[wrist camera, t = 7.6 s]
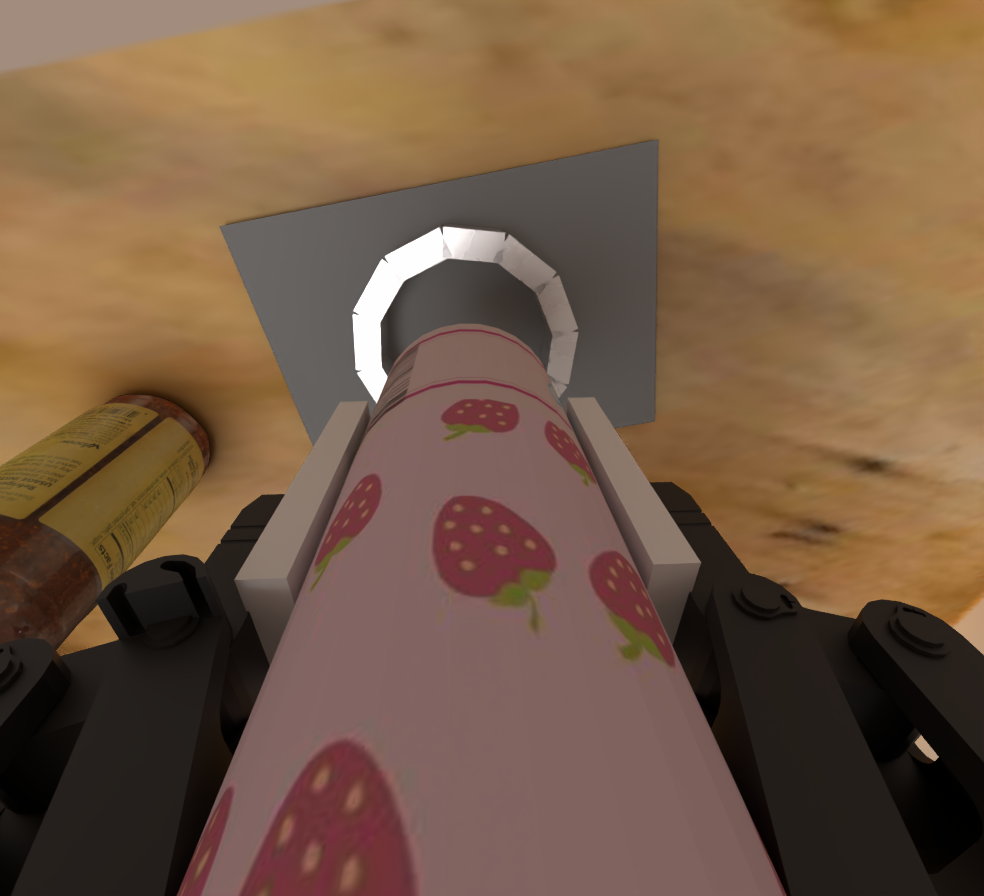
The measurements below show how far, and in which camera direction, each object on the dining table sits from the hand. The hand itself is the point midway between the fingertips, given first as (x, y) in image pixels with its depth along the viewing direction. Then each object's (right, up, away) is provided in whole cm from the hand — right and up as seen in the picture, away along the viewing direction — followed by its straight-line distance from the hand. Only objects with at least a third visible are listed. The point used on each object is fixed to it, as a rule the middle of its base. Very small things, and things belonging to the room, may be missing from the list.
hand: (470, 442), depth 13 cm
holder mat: (-1, +6, +11) cm, 12 cm away
